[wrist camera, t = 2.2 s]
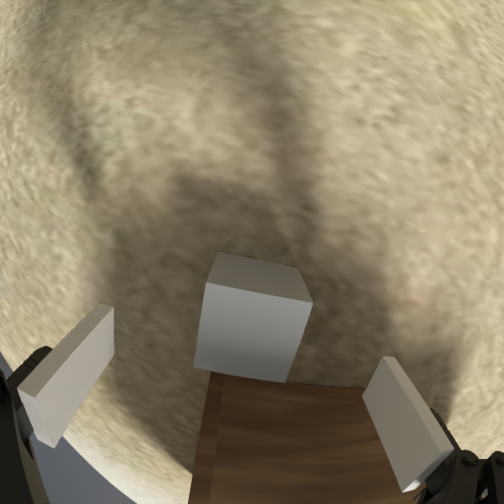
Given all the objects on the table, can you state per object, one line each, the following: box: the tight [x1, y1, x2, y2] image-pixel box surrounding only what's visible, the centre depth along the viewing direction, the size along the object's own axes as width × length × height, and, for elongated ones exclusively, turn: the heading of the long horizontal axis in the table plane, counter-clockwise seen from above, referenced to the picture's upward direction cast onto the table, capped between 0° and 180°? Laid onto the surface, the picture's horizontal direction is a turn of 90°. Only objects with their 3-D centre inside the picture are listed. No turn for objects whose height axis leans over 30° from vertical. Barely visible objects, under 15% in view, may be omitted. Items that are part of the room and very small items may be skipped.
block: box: [193, 251, 313, 383], centre depth 16 cm, size 5×5×5 cm
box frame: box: [188, 371, 426, 504], centre depth 17 cm, size 17×17×12 cm
